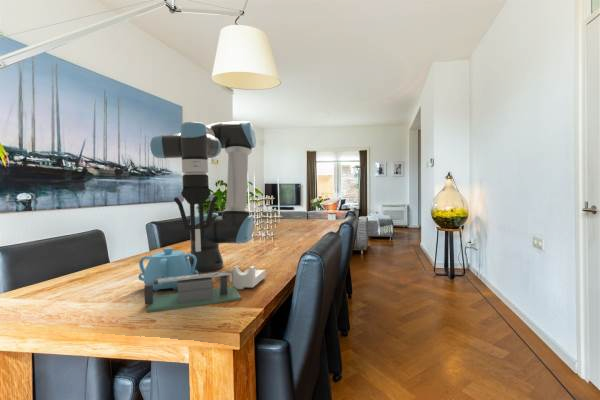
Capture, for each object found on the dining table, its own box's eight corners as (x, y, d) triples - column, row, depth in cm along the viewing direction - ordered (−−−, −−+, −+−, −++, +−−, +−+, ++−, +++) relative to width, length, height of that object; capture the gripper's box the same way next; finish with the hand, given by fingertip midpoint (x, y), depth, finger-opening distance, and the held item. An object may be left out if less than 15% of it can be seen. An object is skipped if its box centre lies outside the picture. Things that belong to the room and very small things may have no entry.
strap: (154, 287, 98) (154, 277, 97) (230, 278, 105) (230, 269, 105) (153, 290, 95) (153, 280, 94) (232, 281, 102) (231, 272, 102)
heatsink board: (147, 299, 101) (146, 279, 101) (234, 288, 110) (234, 270, 110) (143, 313, 90) (142, 290, 90) (241, 299, 99) (240, 279, 99)
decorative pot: (180, 277, 126) (178, 242, 125) (202, 285, 115) (201, 246, 115) (136, 287, 114) (134, 249, 113) (156, 297, 103) (154, 254, 103)
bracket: (252, 290, 109) (252, 267, 109) (233, 289, 111) (232, 267, 110) (265, 279, 122) (264, 259, 121) (247, 278, 123) (247, 258, 123)
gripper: (172, 173, 93) (175, 255, 95) (218, 173, 98) (221, 251, 99) (172, 174, 100) (175, 250, 102) (216, 174, 105) (218, 246, 106)
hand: (198, 250), depth 100 cm, fingers closed
